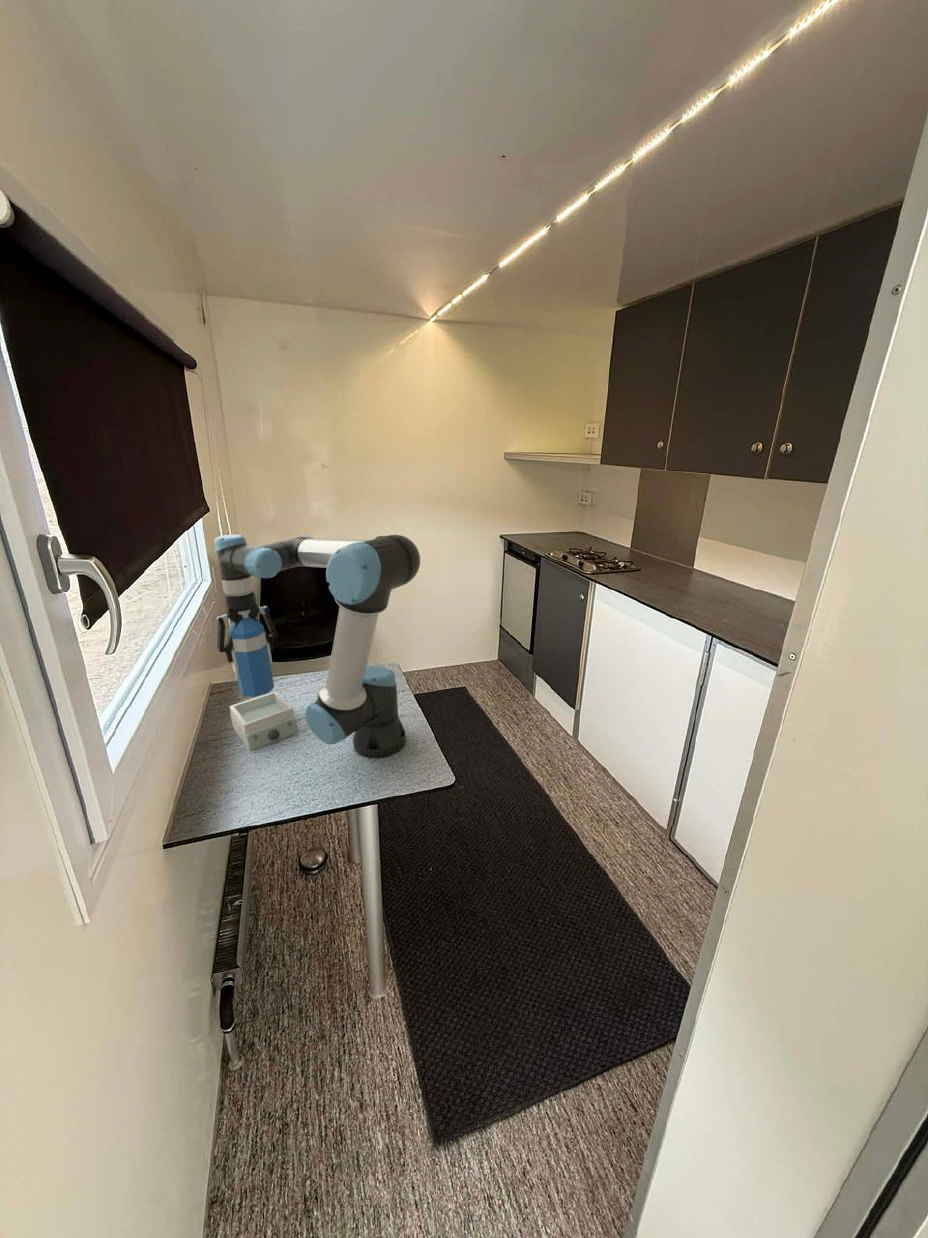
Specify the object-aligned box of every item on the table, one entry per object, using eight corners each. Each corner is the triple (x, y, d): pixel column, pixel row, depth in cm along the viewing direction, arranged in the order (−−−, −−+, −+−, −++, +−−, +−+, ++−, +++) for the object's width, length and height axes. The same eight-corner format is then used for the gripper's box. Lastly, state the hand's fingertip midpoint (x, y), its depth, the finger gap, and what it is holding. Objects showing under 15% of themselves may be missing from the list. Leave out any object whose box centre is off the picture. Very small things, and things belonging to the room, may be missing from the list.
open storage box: (298, 733, 143) (295, 710, 140) (250, 752, 135) (245, 728, 132) (278, 711, 155) (274, 690, 152) (233, 727, 147) (228, 705, 144)
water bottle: (237, 699, 135) (221, 616, 126) (242, 684, 143) (227, 606, 135) (272, 694, 137) (258, 612, 129) (275, 680, 146) (262, 602, 137)
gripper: (273, 582, 139) (284, 652, 147) (192, 597, 126) (209, 673, 134) (283, 587, 134) (294, 660, 142) (199, 603, 121) (216, 683, 129)
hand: (253, 666), depth 138 cm, fingers closed on water bottle, 9 cm apart
